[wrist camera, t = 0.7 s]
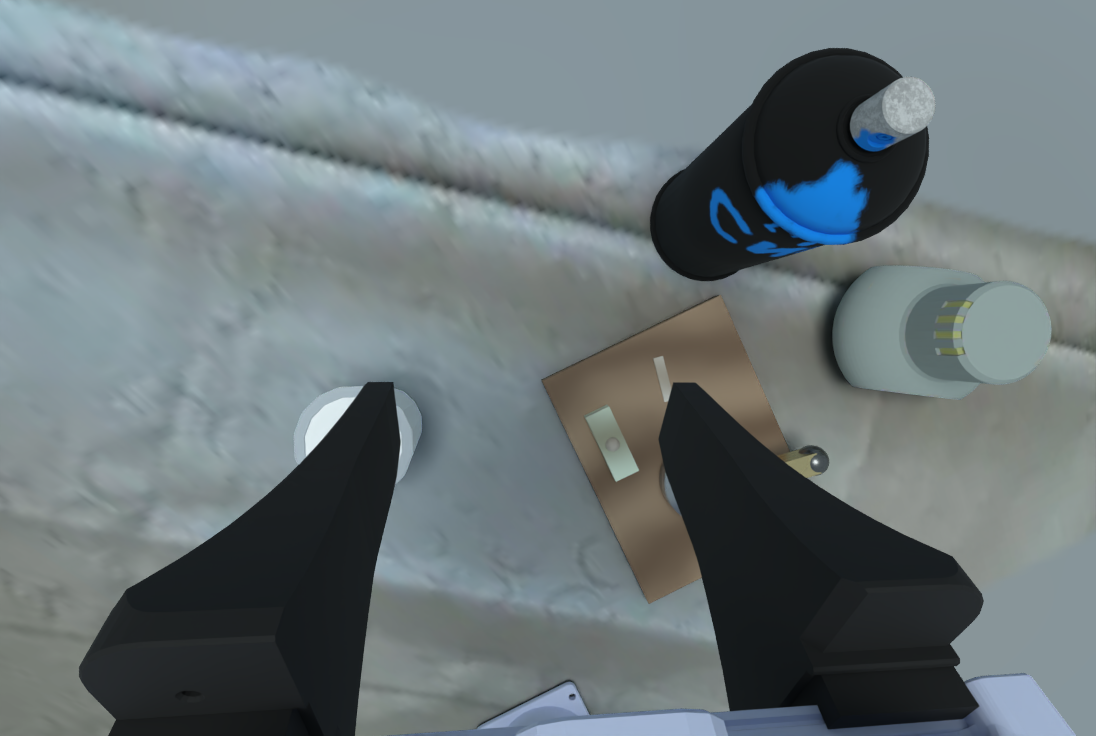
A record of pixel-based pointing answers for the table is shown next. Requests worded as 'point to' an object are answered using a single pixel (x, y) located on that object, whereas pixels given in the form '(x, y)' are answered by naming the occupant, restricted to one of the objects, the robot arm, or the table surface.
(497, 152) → the table surface
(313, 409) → the white cylinder
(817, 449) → the grey and tan lever
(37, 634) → the table surface
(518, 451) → the table surface
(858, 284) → the air freshener
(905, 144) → the aerosol can
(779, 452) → the board
